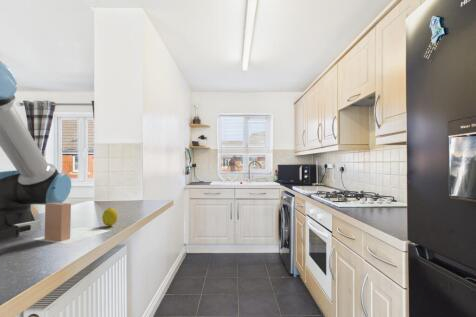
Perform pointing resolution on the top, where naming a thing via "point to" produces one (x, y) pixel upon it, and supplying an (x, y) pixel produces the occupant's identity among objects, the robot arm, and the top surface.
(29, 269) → the top surface
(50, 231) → the block
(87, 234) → the mat
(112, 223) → the lemon
